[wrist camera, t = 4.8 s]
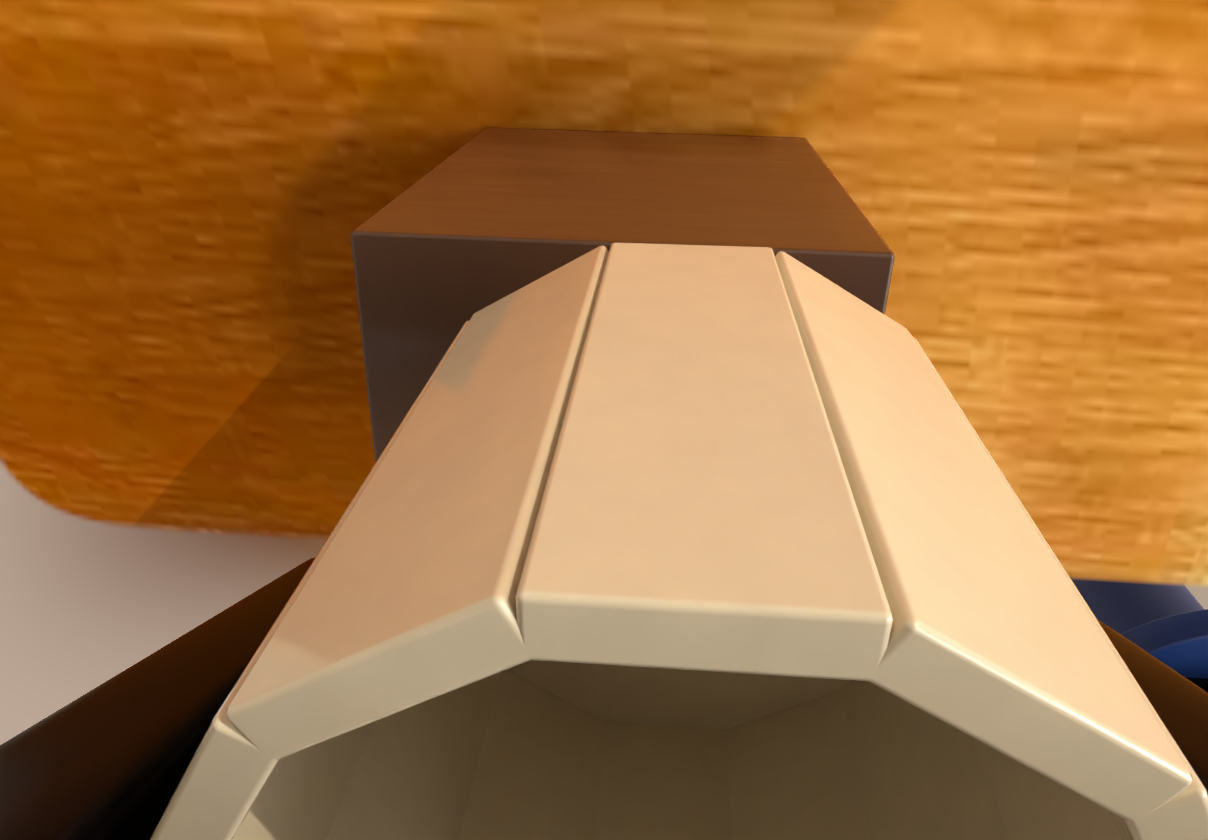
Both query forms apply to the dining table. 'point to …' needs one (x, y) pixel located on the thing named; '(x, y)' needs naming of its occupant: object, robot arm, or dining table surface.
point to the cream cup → (686, 599)
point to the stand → (582, 230)
